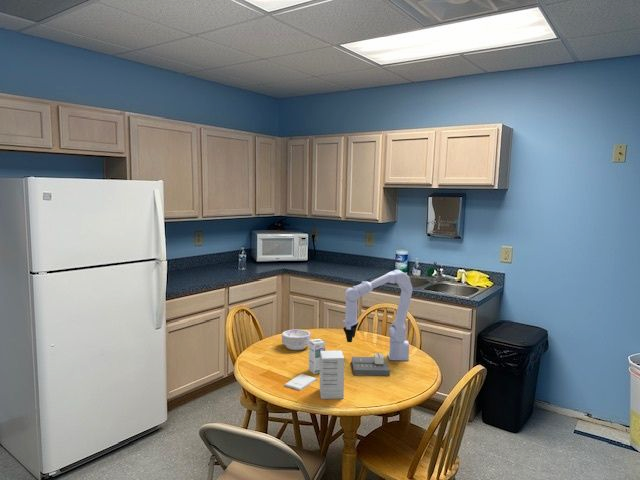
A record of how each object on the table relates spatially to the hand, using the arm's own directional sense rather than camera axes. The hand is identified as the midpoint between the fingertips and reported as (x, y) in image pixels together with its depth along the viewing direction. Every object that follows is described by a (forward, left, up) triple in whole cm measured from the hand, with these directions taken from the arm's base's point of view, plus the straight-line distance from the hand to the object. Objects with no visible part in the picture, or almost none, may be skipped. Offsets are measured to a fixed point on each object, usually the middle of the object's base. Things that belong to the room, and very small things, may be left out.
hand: (350, 339), depth 218 cm
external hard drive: (+24, +28, -11) cm, 38 cm away
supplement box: (+11, +38, -10) cm, 41 cm away
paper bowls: (+28, -16, -10) cm, 33 cm away
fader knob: (-12, +11, -8) cm, 18 cm away
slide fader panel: (-8, +11, -10) cm, 17 cm away
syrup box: (+17, +15, -10) cm, 25 cm away
